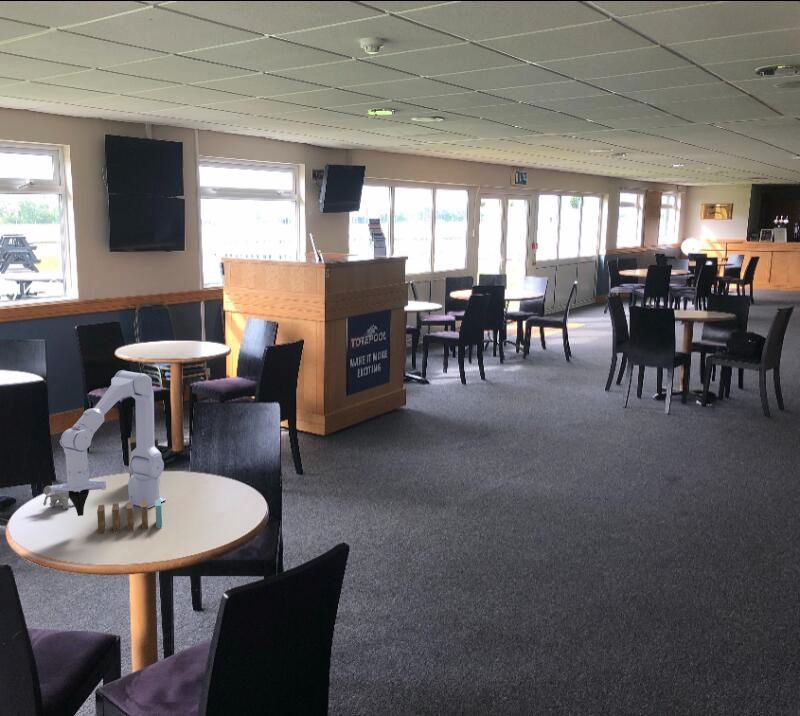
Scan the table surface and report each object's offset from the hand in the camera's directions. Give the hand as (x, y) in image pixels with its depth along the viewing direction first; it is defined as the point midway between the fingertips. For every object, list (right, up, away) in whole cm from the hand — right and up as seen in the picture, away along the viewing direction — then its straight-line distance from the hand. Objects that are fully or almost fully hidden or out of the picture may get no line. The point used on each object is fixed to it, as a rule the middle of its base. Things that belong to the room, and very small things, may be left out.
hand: (80, 514), depth 220 cm
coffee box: (+5, +2, +41) cm, 41 cm away
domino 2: (+9, -5, +4) cm, 11 cm away
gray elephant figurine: (-14, -2, +18) cm, 23 cm away
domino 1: (+5, -5, +3) cm, 8 cm away
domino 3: (+13, -5, +5) cm, 15 cm away
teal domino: (+20, -5, +7) cm, 22 cm away
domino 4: (+17, -5, +6) cm, 18 cm away
